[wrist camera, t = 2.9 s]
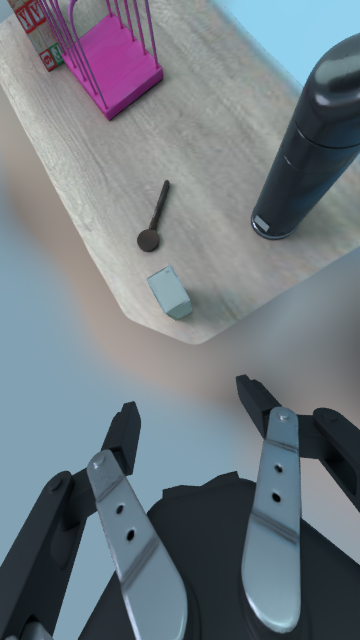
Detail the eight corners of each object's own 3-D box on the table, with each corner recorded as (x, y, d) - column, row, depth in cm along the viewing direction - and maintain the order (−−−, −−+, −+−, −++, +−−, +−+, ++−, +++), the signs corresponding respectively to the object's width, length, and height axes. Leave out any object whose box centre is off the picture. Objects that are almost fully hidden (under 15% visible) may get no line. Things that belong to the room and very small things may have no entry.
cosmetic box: (162, 296, 37) (144, 277, 25) (180, 287, 37) (170, 262, 25) (176, 322, 36) (163, 314, 24) (194, 312, 36) (190, 299, 24)
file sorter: (115, 23, 47) (72, -133, 31) (164, 78, 43) (143, -69, 27) (65, 64, 47) (-1, -68, 32) (109, 121, 44) (57, 3, 28)
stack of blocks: (25, 24, 51) (-30, -74, 39) (42, 12, 51) (-8, -91, 38) (48, 72, 48) (-4, -18, 36) (67, 60, 48) (20, -36, 35)
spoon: (158, 181, 40) (157, 176, 39) (178, 185, 39) (177, 180, 38) (135, 249, 39) (133, 246, 38) (155, 254, 38) (154, 251, 37)
